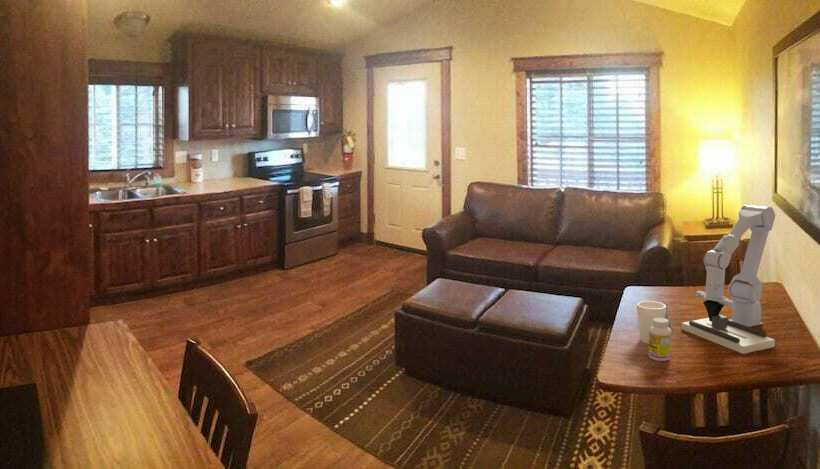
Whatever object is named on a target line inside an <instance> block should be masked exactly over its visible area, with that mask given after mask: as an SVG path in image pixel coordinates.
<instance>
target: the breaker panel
mask: <svg viewBox="0 0 820 469" xmlns="http://www.w3.org/2000/svg"><path fill="white" fill-rule="evenodd" d="M693 321H694V322H696V323H699V324H702V325H704V326H707V327H710V328H712V329H715V328H713V327H712V322H711V321H709V317H706V318H704V317H703V318H699V319H694V320H693ZM681 330H682V331H685V332H687V333H690V334H692V335H695V336H698V337H700V338H702V339H705V340H707V341H710V342H712V343H715V344H717V345H720V346H722V347H725V348H727V349H730V350H732V351H735V352H737V353H739V354H742V355H744V354H749V353H752V352H758V351H763V350H766V349H771V348H775V344H776V340H775V339H774V338H771V337H768V336H766V337H762V336H759V335H756V334H753V333H751V332H748V331H745V330H742V329H739V328H737V327H734V326H731V325H728V324H727V328H724V329H719V330H718V329H715V330H718V331H720V332H723V333H726V334H728V335H731V336H734V337H736V338H739V339H740V342H739V343H736V342H733V341H731V340H728V339H726V338H723V337H720V336H718V335H715V334H712V333H710V332H707V331H705V330H702V329H699V328H697V327H694V326H692V325H689V321H684V322H681Z"/></svg>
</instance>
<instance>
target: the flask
mask: <svg viewBox="0 0 820 469" xmlns="http://www.w3.org/2000/svg"><path fill="white" fill-rule="evenodd" d="M660 303H663V304H665V305H666V314H665V319H668V320H669V325H668V327H669V328H670V329H671V331H672V332H673V330H674V327H673V325H672V322H671V319H670V318H671V317H670V316H669V313H668V312H669V311H668V305H669V303H668V302H667V301H666V302H665V301H662V302H661V301H660Z"/></svg>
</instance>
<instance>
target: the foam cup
mask: <svg viewBox="0 0 820 469" xmlns="http://www.w3.org/2000/svg"><path fill="white" fill-rule="evenodd" d="M660 302H661V301H660ZM660 302H659V301H654V300H643V301H639V302H637V303H636V312H637V318H638V319H637V320H638V329H639V340H640V342H642V343H644V344H648V345H649V329H650V327H651V326H653V325H654V324H653V319H654V318H665V314H666V305H665V304H663V303H660Z"/></svg>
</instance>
